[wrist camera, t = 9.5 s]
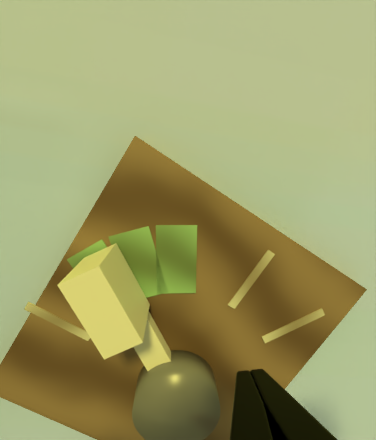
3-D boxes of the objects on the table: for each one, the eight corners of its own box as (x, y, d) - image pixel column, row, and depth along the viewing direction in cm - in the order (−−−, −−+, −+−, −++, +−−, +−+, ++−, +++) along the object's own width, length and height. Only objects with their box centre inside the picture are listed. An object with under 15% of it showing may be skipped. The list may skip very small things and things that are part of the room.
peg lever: (226, 397, 20) (239, 454, 16) (158, 426, 20) (154, 490, 16) (140, 231, 17) (130, 251, 13) (60, 268, 17) (26, 299, 13)
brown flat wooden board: (202, 470, 24) (204, 487, 22) (-11, 374, 20) (-23, 388, 19) (355, 282, 20) (367, 290, 19) (131, 133, 17) (127, 131, 16)
